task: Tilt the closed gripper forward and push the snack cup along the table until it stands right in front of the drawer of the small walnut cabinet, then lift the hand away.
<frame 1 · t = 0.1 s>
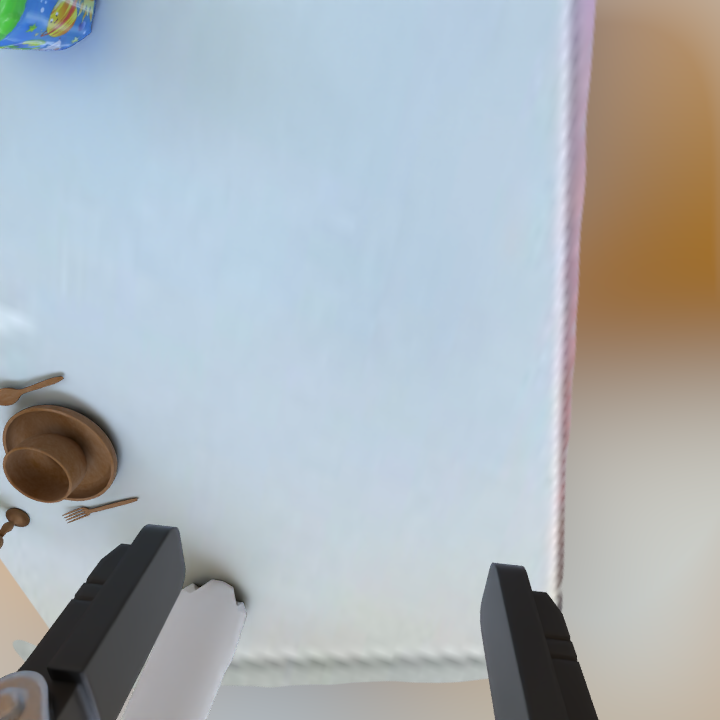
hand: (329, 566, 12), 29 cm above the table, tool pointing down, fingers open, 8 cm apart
place setting: (42, 455, 50), on the table
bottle: (216, 597, 58), on the table
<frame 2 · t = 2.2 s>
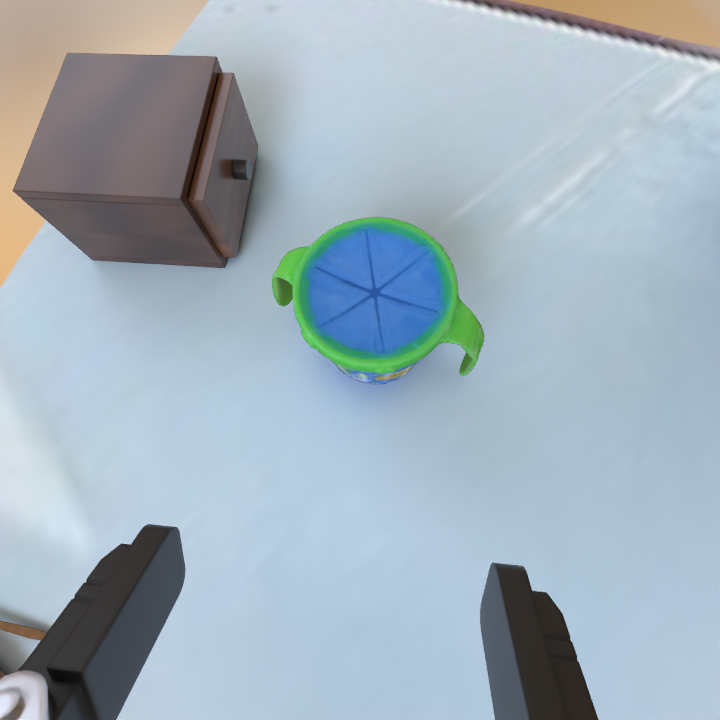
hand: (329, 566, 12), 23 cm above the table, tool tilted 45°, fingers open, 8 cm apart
drawer: (176, 166, 39), point 5 cm above the table, slide at 0.0 cm, touching cabinet
snack cup: (375, 344, 38), on the table
cabinet: (174, 201, 43), on the table
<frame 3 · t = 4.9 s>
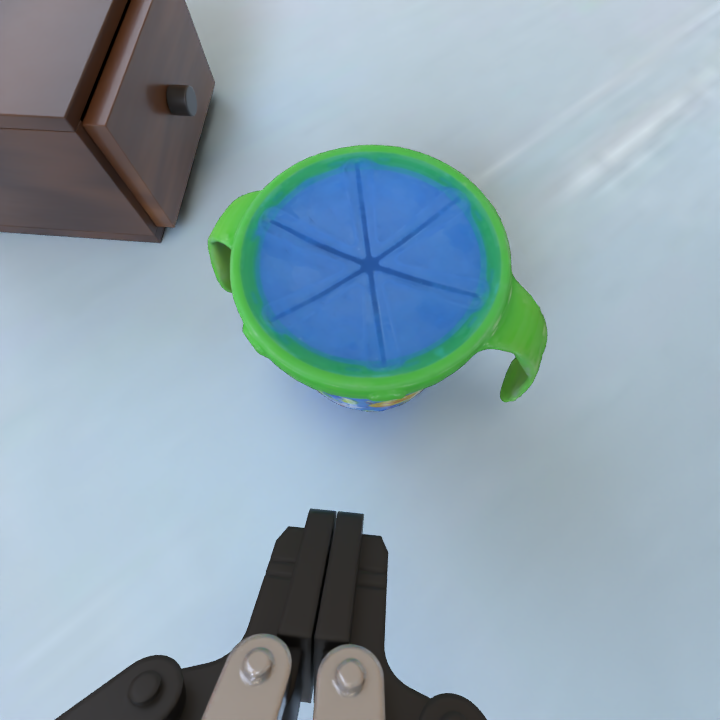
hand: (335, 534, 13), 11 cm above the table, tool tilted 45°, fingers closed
drawer: (89, 96, 27), point 5 cm above the table, slide at 0.0 cm, touching cabinet
snack cup: (370, 352, 26), on the table
cabinet: (97, 155, 32), on the table
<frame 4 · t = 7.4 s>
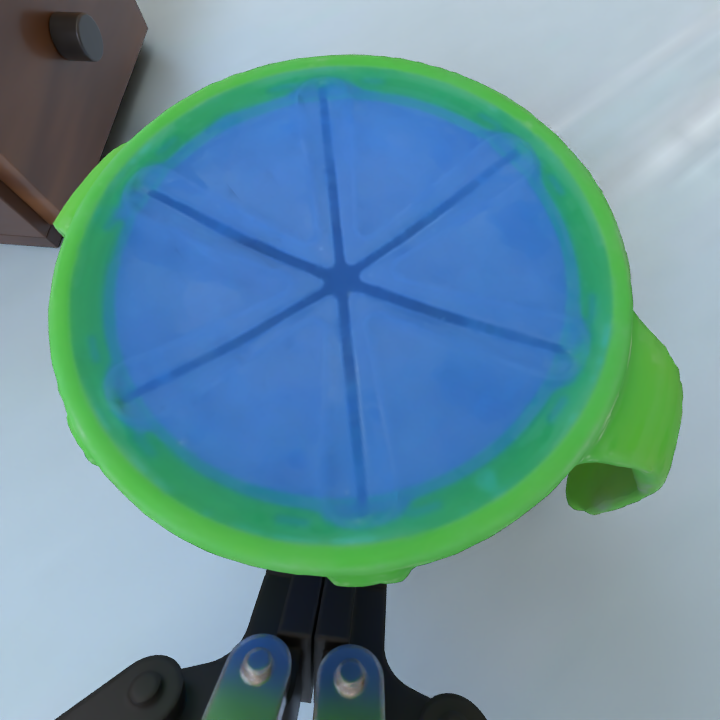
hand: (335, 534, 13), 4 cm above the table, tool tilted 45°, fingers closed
snack cup: (356, 401, 18), on the table, touching gripper
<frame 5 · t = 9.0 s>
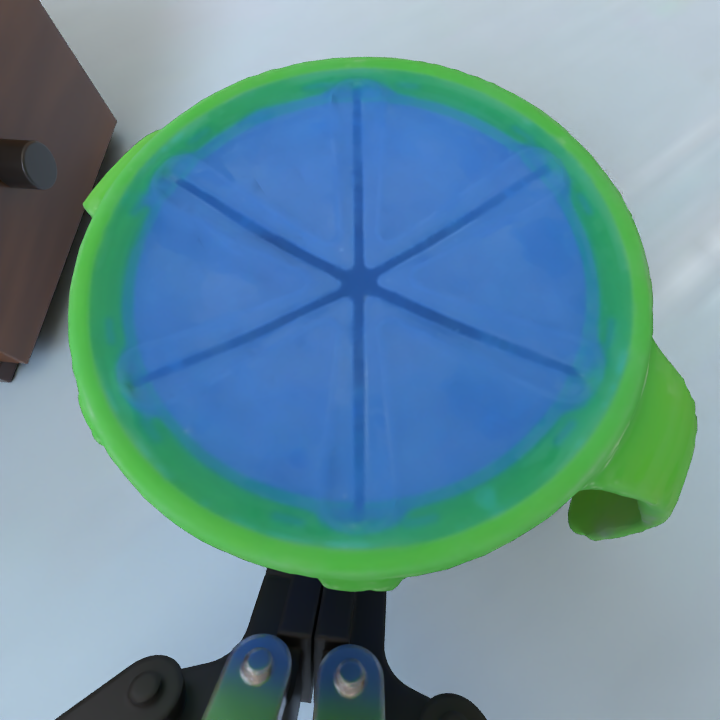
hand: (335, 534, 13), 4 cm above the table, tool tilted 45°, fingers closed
snack cup: (365, 403, 18), on the table, touching gripper
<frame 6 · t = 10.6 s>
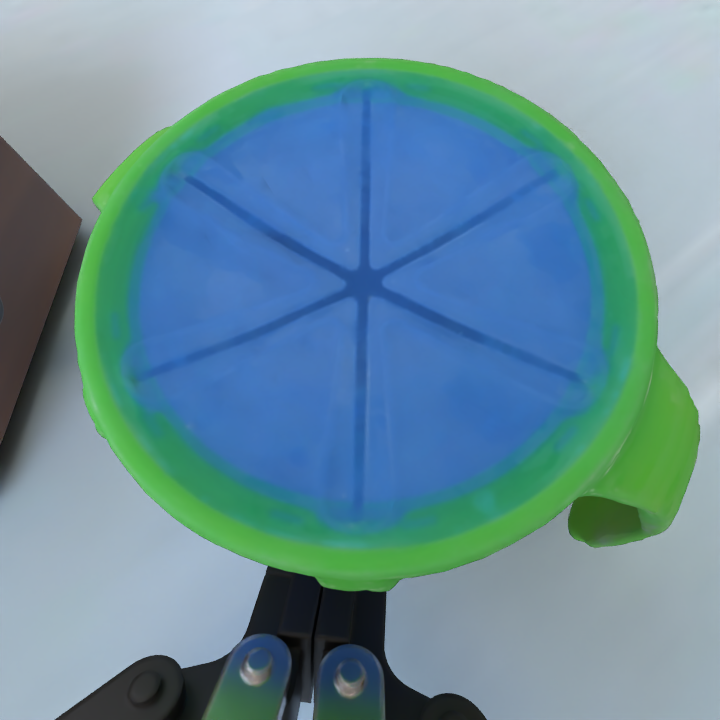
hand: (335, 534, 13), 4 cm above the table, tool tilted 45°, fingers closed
snack cup: (368, 403, 18), on the table, touching gripper
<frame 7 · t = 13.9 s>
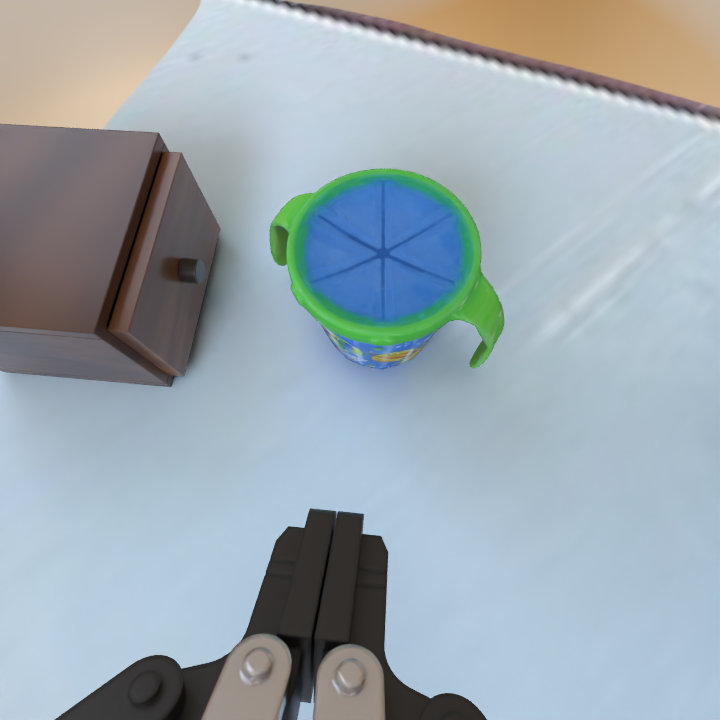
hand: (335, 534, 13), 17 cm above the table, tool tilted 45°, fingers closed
drawer: (108, 264, 30), point 5 cm above the table, slide at 0.0 cm, touching cabinet
snack cup: (379, 325, 34), on the table
cabinet: (113, 296, 35), on the table
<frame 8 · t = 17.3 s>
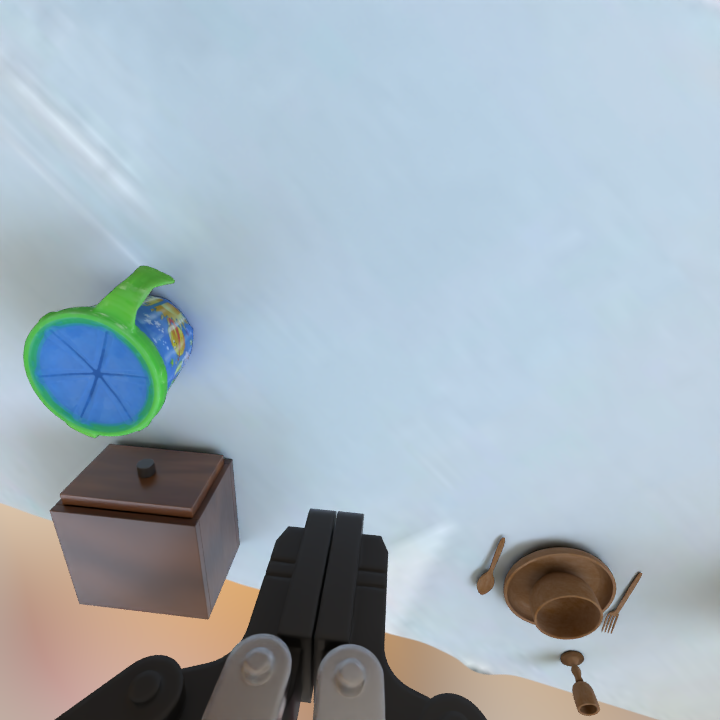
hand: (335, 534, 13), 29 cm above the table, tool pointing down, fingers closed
drawer: (154, 512, 47), point 5 cm above the table, slide at 0.0 cm, touching cabinet
snack cup: (158, 329, 43), on the table
place setting: (543, 600, 54), on the table
cabinet: (178, 498, 52), on the table
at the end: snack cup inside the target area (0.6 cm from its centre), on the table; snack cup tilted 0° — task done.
